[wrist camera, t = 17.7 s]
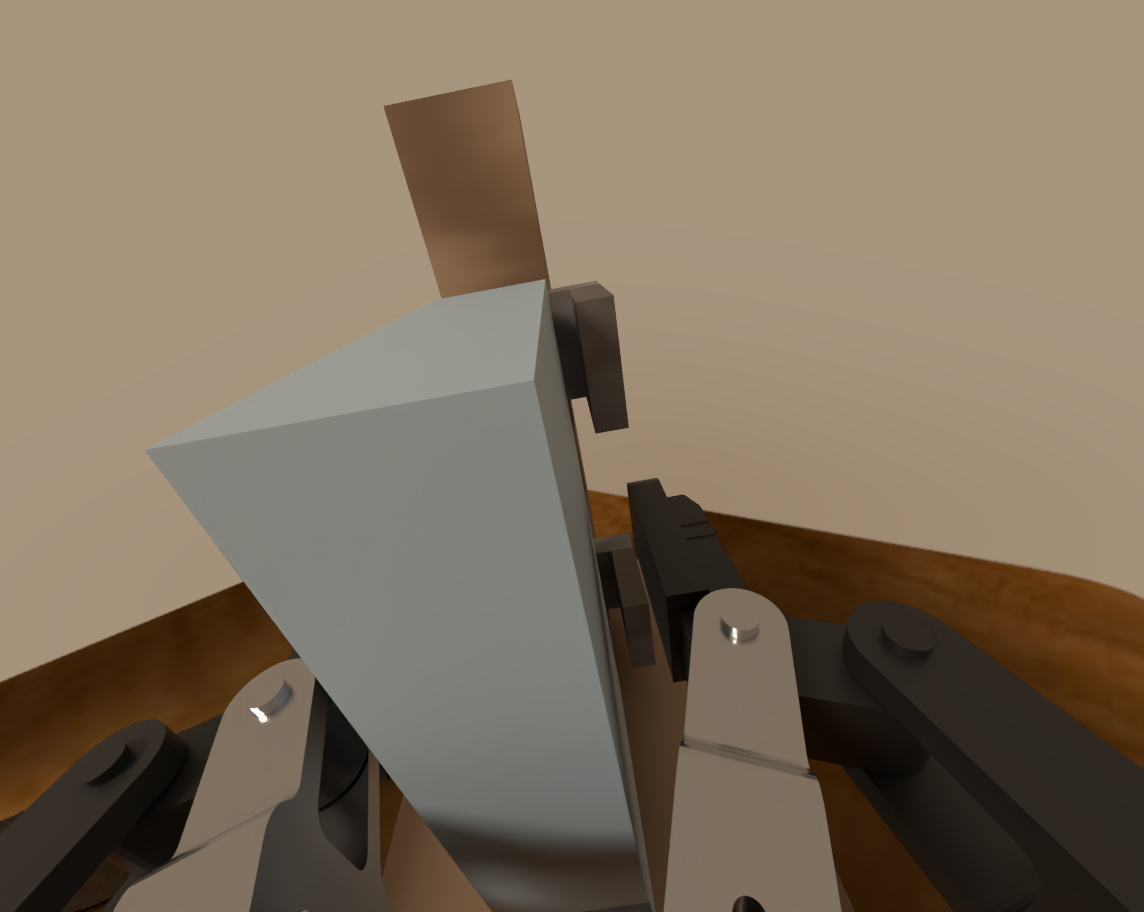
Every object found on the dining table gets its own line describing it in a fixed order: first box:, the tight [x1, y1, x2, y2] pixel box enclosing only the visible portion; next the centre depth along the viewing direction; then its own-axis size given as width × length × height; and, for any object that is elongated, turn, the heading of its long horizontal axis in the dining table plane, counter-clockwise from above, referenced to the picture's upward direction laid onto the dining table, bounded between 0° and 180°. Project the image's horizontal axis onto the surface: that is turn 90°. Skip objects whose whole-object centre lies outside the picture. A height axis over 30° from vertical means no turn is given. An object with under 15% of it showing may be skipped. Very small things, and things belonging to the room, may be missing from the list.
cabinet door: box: [145, 279, 655, 912], centre depth 9 cm, size 2×9×14 cm, turn 3°
